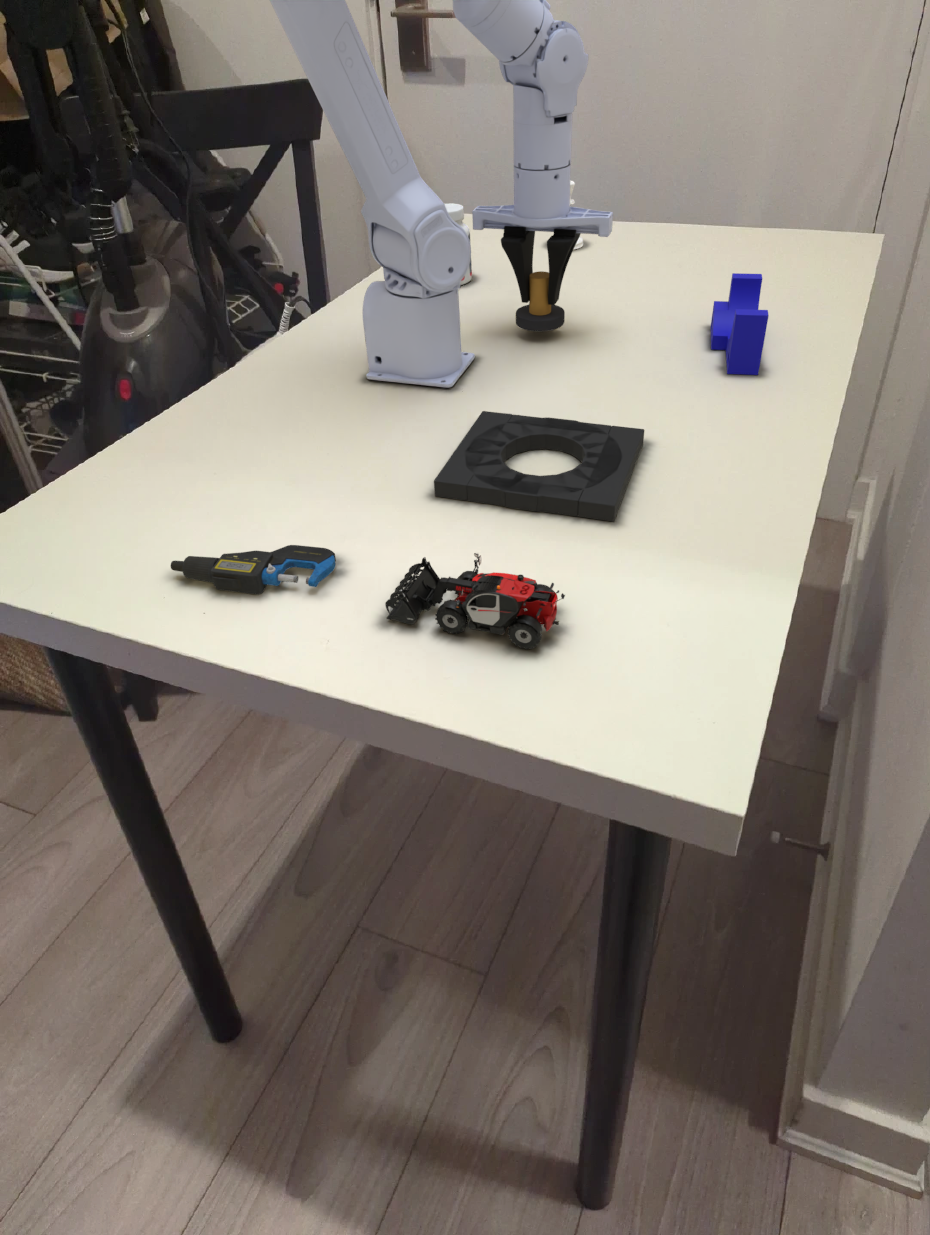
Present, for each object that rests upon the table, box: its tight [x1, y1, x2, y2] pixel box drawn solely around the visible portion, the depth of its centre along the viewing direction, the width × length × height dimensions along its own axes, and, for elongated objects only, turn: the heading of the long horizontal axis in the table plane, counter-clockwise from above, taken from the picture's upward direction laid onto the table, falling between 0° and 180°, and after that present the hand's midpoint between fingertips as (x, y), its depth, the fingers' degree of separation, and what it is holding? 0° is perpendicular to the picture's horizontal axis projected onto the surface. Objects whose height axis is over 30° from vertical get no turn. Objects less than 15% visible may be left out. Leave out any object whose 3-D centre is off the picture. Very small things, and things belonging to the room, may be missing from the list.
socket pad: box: [433, 410, 645, 522], centre depth 74 cm, size 15×13×2 cm
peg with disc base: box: [515, 270, 566, 332], centre depth 95 cm, size 5×5×5 cm
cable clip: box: [709, 272, 770, 376], centre depth 90 cm, size 12×4×6 cm, turn 168°
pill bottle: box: [444, 202, 473, 286], centre depth 110 cm, size 5×5×9 cm
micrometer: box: [170, 544, 337, 595], centre depth 64 cm, size 12×2×5 cm
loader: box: [385, 552, 566, 650], centre depth 58 cm, size 12×5×5 cm, turn 69°
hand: (540, 300), depth 95 cm, fingers closed on peg with disc base, 2 cm apart
